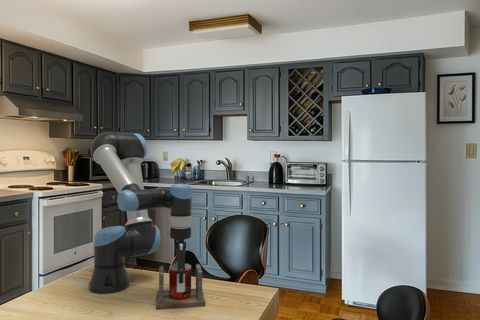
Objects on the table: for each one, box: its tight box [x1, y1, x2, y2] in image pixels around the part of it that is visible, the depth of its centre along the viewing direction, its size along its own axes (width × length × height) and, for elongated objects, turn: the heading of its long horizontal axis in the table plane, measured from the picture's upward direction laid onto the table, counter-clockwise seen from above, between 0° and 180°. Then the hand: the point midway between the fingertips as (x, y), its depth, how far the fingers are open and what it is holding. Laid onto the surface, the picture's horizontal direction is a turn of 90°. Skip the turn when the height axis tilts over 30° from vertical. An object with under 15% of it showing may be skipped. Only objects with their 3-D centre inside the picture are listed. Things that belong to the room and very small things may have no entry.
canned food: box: [168, 263, 192, 300], centre depth 139 cm, size 8×8×11 cm
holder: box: [155, 263, 206, 311], centre depth 139 cm, size 14×17×12 cm
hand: (180, 285), depth 139 cm, fingers open, 13 cm apart
